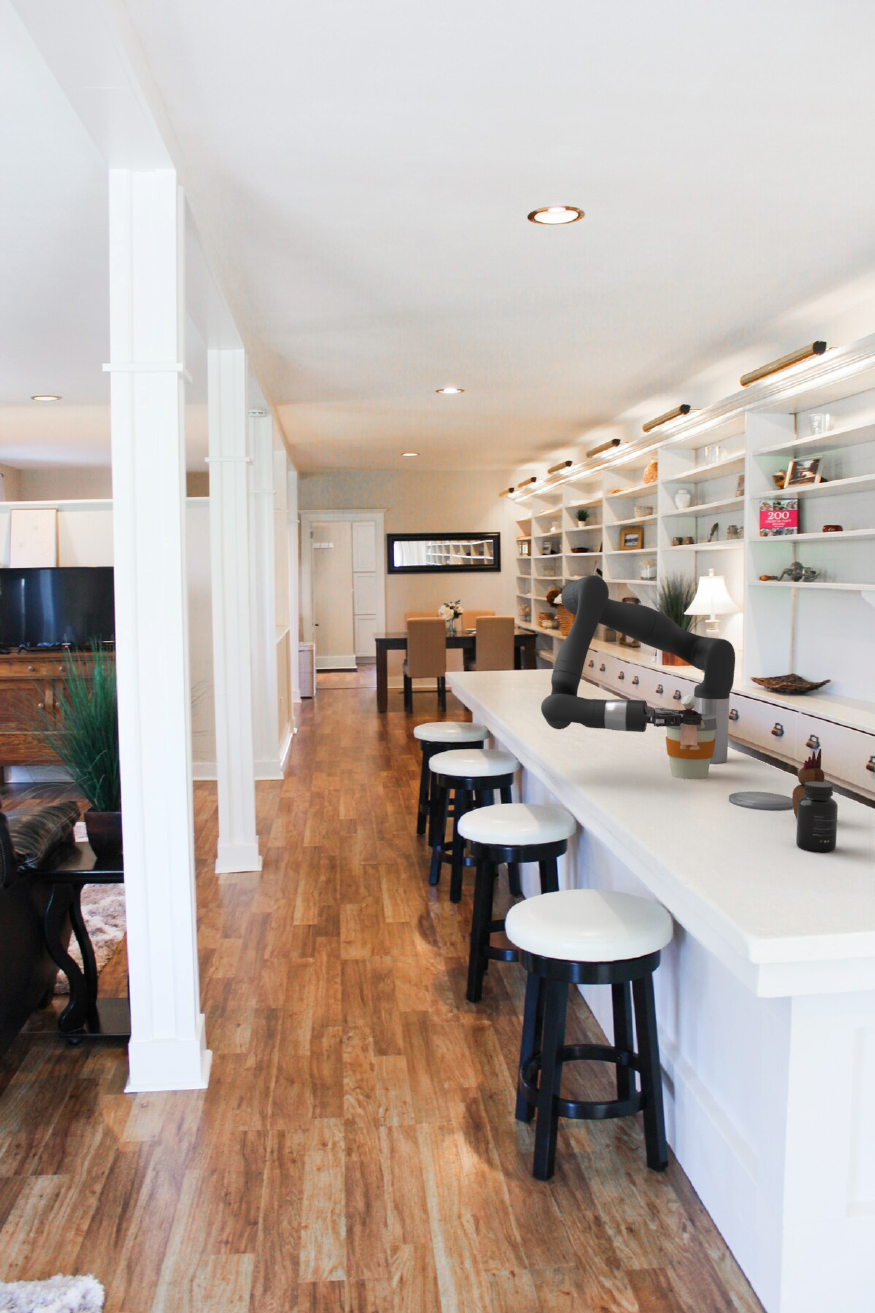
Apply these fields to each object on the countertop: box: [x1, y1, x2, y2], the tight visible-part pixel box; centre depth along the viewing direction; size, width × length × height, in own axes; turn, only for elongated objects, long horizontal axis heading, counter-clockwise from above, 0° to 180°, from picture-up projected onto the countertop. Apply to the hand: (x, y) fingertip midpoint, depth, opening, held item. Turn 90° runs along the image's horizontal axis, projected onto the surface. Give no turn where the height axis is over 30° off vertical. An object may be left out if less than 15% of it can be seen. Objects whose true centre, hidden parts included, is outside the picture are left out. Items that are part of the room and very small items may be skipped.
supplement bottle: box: [795, 781, 839, 854], centre depth 172 cm, size 7×7×12 cm
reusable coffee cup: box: [665, 713, 717, 780], centre depth 235 cm, size 13×12×15 cm
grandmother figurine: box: [674, 694, 705, 750], centre depth 219 cm, size 8×4×13 cm, turn 72°
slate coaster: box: [728, 791, 793, 811], centre depth 208 cm, size 14×14×1 cm
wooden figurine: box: [791, 748, 825, 819], centre depth 191 cm, size 7×6×15 cm
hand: (700, 719), depth 218 cm, fingers closed on grandmother figurine, 2 cm apart
